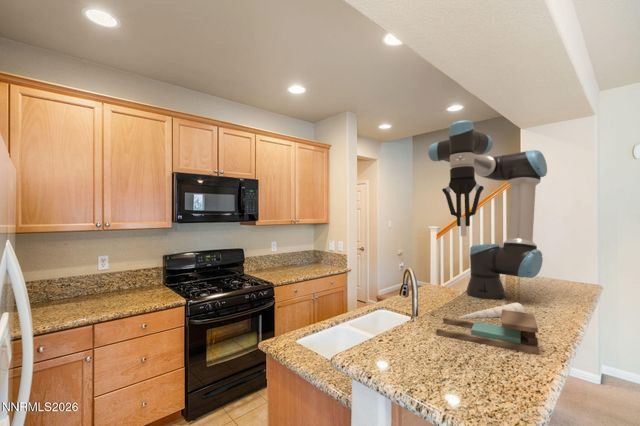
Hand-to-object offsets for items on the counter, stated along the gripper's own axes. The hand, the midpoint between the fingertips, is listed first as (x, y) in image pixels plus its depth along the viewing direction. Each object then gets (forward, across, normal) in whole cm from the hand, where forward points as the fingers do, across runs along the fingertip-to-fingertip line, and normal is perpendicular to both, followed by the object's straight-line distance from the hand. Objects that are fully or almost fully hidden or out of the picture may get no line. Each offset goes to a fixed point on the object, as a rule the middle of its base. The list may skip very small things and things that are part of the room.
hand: (463, 236), depth 98 cm
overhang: (+29, +6, -9) cm, 31 cm away
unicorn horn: (+30, +7, +11) cm, 33 cm away
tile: (+30, +9, -9) cm, 32 cm away
